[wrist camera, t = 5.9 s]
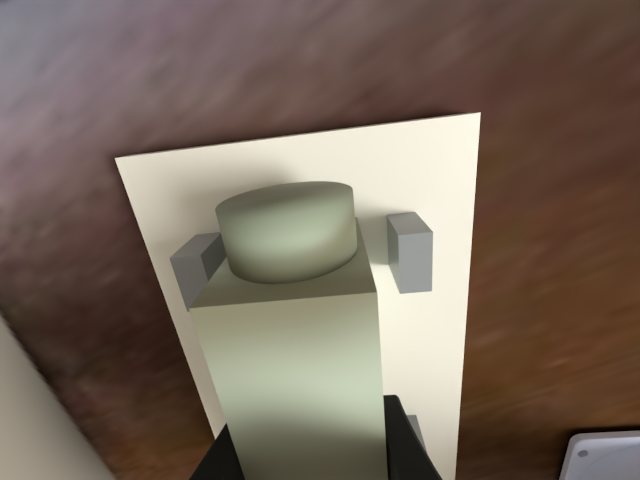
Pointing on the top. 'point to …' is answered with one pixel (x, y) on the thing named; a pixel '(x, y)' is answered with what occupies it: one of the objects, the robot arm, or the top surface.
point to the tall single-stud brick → (296, 335)
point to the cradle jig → (377, 231)
